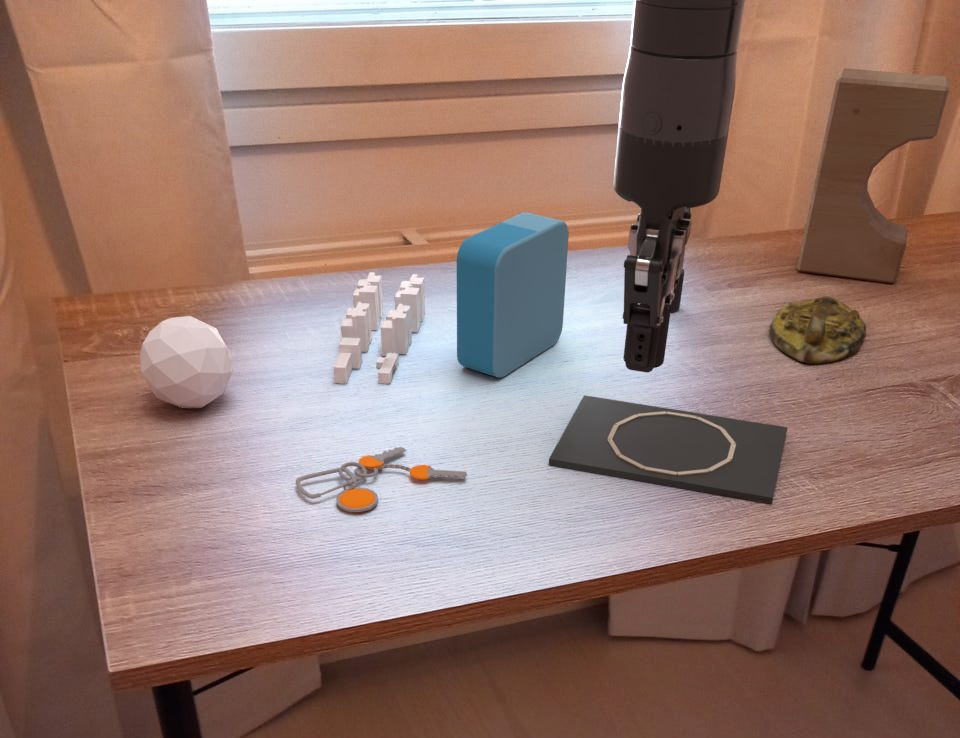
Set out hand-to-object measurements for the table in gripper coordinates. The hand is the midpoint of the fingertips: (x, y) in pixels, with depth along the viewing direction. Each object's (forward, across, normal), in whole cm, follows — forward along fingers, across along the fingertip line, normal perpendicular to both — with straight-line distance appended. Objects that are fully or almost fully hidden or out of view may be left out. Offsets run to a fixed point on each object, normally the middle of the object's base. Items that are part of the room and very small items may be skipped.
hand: (644, 358), depth 81 cm
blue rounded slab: (+8, +14, +15) cm, 22 cm away
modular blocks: (+8, +12, +28) cm, 31 cm away
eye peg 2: (+8, +31, +3) cm, 32 cm away
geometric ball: (+8, -5, +39) cm, 40 cm away
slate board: (+8, +1, -3) cm, 8 cm away
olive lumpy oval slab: (+8, +29, -13) cm, 32 cm away
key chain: (+8, -12, +18) cm, 23 cm away
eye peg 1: (0, 0, 0) cm, 0 cm away
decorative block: (+8, +48, -15) cm, 51 cm away
